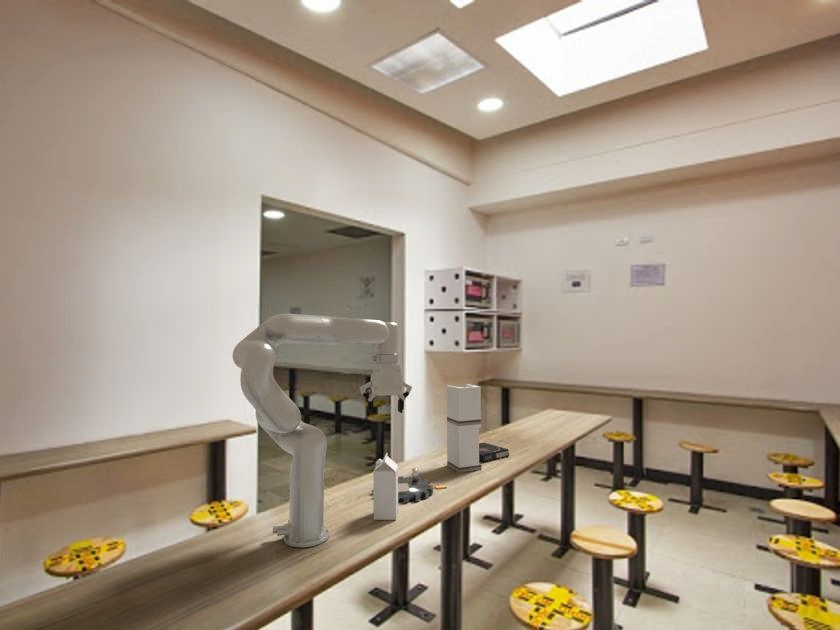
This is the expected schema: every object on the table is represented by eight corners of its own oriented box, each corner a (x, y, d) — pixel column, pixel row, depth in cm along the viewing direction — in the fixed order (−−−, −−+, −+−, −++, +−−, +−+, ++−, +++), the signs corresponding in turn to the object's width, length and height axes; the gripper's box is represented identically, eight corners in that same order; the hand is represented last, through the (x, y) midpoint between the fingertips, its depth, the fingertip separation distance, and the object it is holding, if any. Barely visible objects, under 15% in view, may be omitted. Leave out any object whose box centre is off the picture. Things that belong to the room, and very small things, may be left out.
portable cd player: (483, 464, 202) (483, 455, 202) (458, 456, 216) (458, 447, 216) (509, 458, 212) (509, 449, 212) (483, 450, 225) (483, 442, 226)
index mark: (436, 489, 168) (436, 487, 168) (434, 487, 170) (434, 486, 170) (446, 488, 170) (446, 486, 170) (444, 486, 171) (444, 485, 171)
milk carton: (398, 511, 147) (397, 452, 148) (396, 520, 140) (395, 458, 141) (376, 511, 148) (376, 452, 149) (373, 520, 141) (373, 458, 141)
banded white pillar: (481, 469, 192) (480, 386, 194) (459, 472, 188) (458, 387, 190) (468, 462, 203) (467, 384, 204) (447, 465, 199) (446, 385, 200)
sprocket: (360, 493, 164) (360, 475, 164) (400, 478, 181) (399, 461, 181) (407, 507, 150) (407, 487, 150) (445, 489, 167) (444, 471, 168)
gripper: (362, 360, 142) (361, 415, 141) (415, 360, 147) (414, 413, 146) (358, 359, 149) (357, 412, 148) (408, 359, 154) (408, 410, 153)
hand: (385, 412), depth 147 cm, fingers open, 9 cm apart
